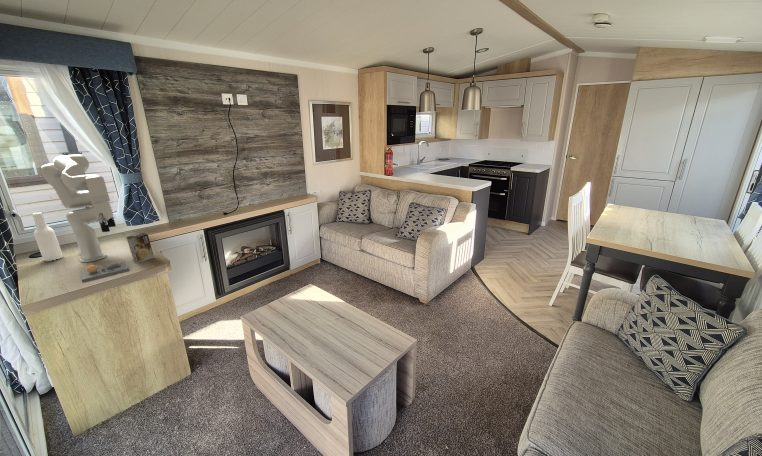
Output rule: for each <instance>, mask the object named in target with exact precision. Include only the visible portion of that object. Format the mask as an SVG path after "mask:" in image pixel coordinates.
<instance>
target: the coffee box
mask: <svg viewBox="0 0 762 456" xmlns="http://www.w3.org/2000/svg"><path fill="white" fill-rule="evenodd" d="M126 240H127V243H128V246H129V250H130V254H131V256H132V260H133V262H135V263H138V264H140V263H143V262H146V261H149V260H151V259H152V260H153V259H154V258H155V256H154V252H153V249H152V245H151V242H150V237H149V234H148V233H145V232H139V233H137V234H132V235H129V236H126Z"/></svg>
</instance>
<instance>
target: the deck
mask: <svg viewBox="0 0 762 456" xmlns="http://www.w3.org/2000/svg"><path fill="white" fill-rule="evenodd" d="M97 268H98V269H97V271H96V272H94V273H89V272H88V271H87V269H86V270H81V271H80V276H81V282H82V283H85V282H89V281H93V280H96V279H100V278H101V279H102V278H105V277H109V276H114V275H117V274H121V273H124V272H129V271H130V269H129V266H128V263H127V261H126V260H123V261H120V262H115V263H111V264H108V265H103V266H99V267H98V266H97Z"/></svg>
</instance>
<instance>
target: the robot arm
mask: <svg viewBox="0 0 762 456" xmlns="http://www.w3.org/2000/svg"><path fill="white" fill-rule="evenodd" d="M40 167H41V168H40V172H41V174H42V177H43V178H44V179H45V181H46V182H47V183H48V184H49V185H50V186H51V187H52V188H53V189H54V191H55V192H56V195H57V196H58V198H59V200H60V202H61V203H62V205H63V207H64V208H65V209H68V210H70V211H69V212H67V213H66V219H67V222H68V223H69V225H70V227H71V229H72V232H73V234H74V238H75V240H76V243H77V246H78V248H79V249H78V250H79V252H78V253H77V256H78V257H79V256H80V258H79V262H81V263H90V262H96V261H98V260H102V259H104V258H105V257H107V254H106V253H105V252H103V251H102V248H101V245H100V242H99V239H98V235H97V232H96V230H95V229H94V227H92V226H90V225H89V224H94V223H98V224H99V226H100V229H101V233H109V232H110V230H111V229H110V228H113V227H114V228H115V227H116V226H117V225H116V222H115V218H114V213H113V210H112V207H111V203H110V201H111V199H110V195H109V192H108V189H107V185H106V181H105V178H104V177H103V176H102V175H98V174H96V173H95V174H85V172H86V171H87V170H88V169H89V167H90V163H89V159H87V157H86V156H84V155H81V154H68V155H66V154H65V155H59V156H56V157H54V158H53V160H52V163H47V164H44V165H42V166H40ZM72 209H73V210H72Z"/></svg>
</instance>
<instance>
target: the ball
mask: <svg viewBox="0 0 762 456" xmlns="http://www.w3.org/2000/svg"><path fill="white" fill-rule="evenodd" d="M97 269H98V265H95V264H90V265H88V266H86V270H87V271H88V272H89V273H94V272H96V271H97Z"/></svg>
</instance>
